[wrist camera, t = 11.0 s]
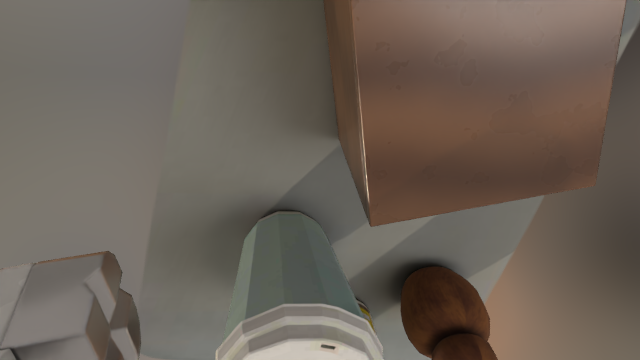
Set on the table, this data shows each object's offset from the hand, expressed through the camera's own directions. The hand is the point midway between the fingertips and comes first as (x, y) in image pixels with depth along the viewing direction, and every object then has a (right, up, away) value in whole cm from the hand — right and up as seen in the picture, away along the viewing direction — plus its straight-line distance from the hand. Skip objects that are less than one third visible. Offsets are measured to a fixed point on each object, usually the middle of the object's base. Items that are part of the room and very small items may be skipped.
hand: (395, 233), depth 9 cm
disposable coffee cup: (-4, -4, +39) cm, 40 cm away
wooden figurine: (+8, -8, +44) cm, 46 cm away
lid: (+7, +7, +22) cm, 24 cm away
